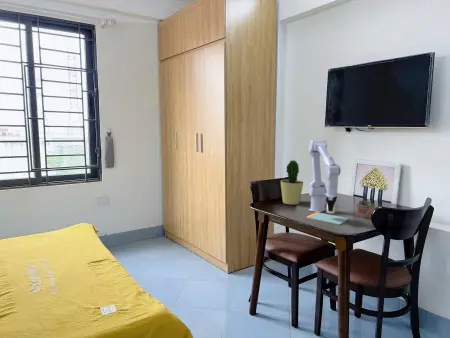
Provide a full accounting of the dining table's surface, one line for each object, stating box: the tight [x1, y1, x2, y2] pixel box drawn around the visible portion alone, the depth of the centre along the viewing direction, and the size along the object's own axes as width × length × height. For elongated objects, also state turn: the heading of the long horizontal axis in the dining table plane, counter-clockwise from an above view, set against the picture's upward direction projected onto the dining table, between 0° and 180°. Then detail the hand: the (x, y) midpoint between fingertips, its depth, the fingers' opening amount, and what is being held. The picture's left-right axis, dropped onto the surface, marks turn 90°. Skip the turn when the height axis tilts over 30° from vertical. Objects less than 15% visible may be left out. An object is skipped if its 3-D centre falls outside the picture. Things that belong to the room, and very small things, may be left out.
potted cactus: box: [280, 159, 304, 205], centre depth 223 cm, size 15×15×30 cm
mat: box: [305, 212, 349, 226], centre depth 187 cm, size 14×20×1 cm
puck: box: [326, 204, 336, 215], centre depth 185 cm, size 4×4×5 cm
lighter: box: [355, 199, 372, 220], centre depth 191 cm, size 8×3×10 cm, turn 48°
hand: (330, 210), depth 186 cm, fingers closed on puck, 4 cm apart
